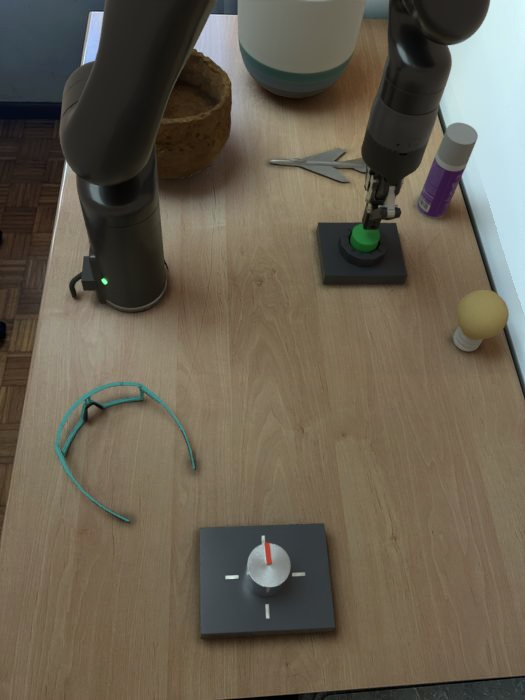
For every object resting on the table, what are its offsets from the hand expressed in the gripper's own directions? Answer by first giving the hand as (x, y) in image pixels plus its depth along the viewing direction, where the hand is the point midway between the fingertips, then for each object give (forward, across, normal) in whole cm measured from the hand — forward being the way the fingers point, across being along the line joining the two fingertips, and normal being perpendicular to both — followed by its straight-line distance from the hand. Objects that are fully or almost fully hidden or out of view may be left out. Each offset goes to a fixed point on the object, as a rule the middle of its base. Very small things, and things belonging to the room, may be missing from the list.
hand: (369, 226), depth 93 cm
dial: (+4, +46, -17) cm, 49 cm away
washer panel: (+7, +46, -17) cm, 50 cm away
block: (+7, 0, 0) cm, 7 cm away
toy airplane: (+7, -19, -2) cm, 20 cm away
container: (+7, -10, +13) cm, 18 cm away
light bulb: (+7, +15, +13) cm, 21 cm away
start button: (+3, 0, 0) cm, 4 cm away
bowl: (+7, -20, -28) cm, 35 cm away
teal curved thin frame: (+7, +30, -33) cm, 45 cm away
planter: (+7, -40, -7) cm, 41 cm away
